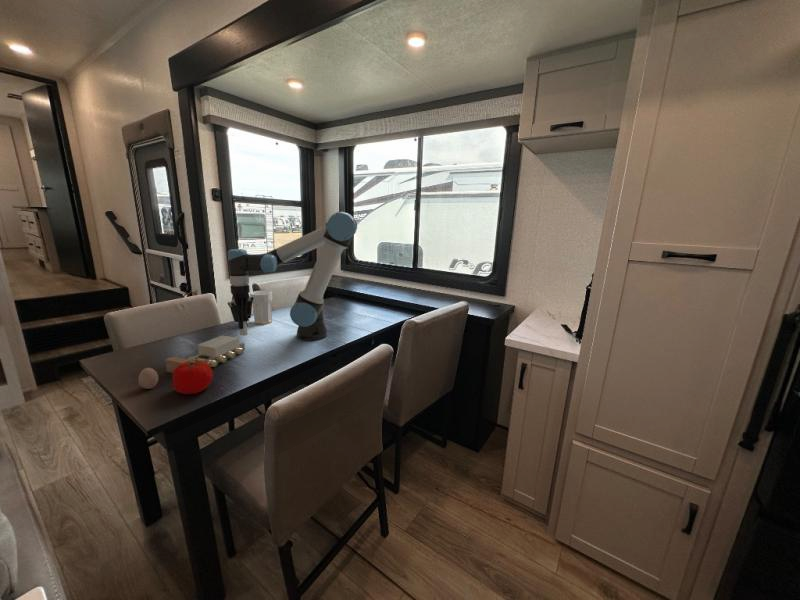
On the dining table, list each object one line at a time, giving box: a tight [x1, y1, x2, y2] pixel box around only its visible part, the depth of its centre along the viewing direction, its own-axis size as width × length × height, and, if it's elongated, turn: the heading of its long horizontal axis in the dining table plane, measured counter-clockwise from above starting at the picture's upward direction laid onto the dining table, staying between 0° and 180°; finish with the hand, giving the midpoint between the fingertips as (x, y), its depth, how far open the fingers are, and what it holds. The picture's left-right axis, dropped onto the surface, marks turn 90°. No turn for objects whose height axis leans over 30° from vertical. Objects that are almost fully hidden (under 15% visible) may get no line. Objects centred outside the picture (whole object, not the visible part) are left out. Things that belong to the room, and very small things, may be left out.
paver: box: [197, 335, 240, 357], centre depth 132 cm, size 9×12×4 cm
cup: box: [249, 290, 273, 326], centre depth 177 cm, size 11×11×17 cm
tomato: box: [172, 360, 214, 395], centre depth 105 cm, size 12×12×10 cm
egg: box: [137, 367, 160, 390], centre depth 106 cm, size 5×5×7 cm
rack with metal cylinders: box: [165, 343, 246, 374], centre depth 129 cm, size 14×27×5 cm, turn 163°
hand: (243, 334), depth 145 cm, fingers closed
